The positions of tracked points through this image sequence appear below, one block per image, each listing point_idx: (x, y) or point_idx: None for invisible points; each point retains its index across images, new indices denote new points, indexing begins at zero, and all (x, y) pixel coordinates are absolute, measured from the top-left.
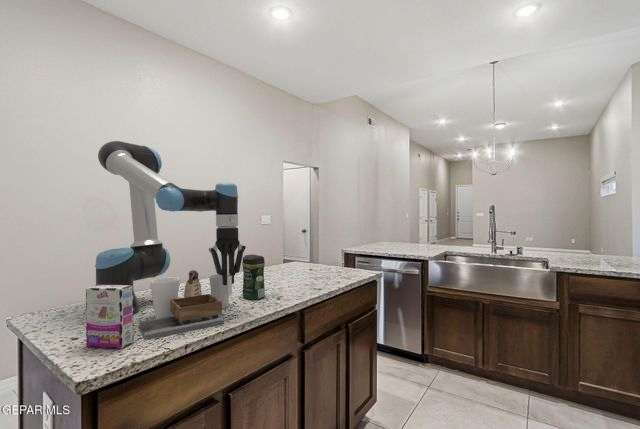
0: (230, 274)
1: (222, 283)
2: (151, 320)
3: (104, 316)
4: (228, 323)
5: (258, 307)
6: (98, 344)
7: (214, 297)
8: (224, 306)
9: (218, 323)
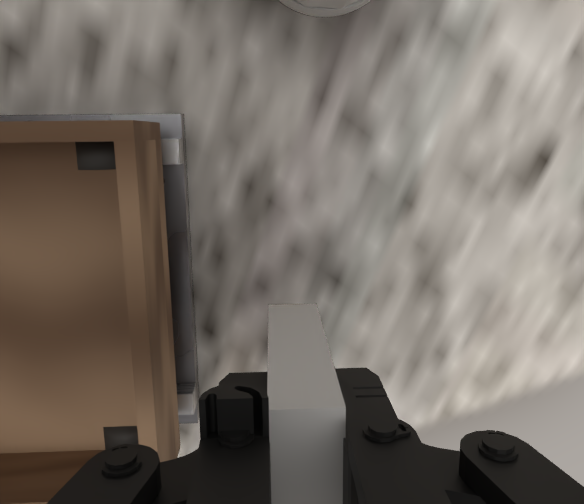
0: (344, 500)
1: (219, 383)
2: None
3: None
4: None
5: (573, 192)
6: None
7: (140, 326)
8: (342, 11)
9: None
